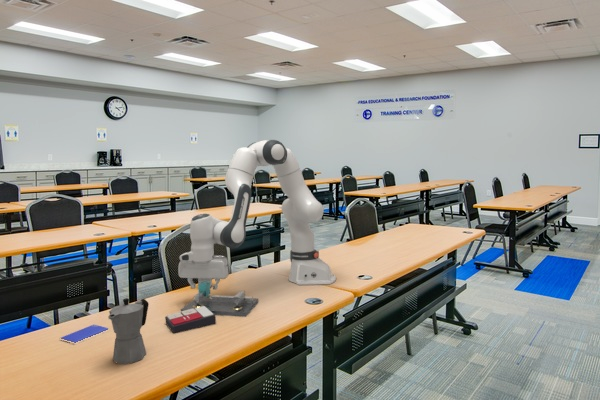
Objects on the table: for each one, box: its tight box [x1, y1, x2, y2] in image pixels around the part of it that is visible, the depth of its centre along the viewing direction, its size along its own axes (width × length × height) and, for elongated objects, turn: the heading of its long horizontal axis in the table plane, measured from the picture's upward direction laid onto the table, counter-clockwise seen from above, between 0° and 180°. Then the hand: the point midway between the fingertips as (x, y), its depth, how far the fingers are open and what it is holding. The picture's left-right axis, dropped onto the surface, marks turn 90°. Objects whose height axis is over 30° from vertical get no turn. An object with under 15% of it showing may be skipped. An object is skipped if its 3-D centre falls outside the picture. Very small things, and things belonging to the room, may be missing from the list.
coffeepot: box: [107, 298, 149, 365], centre depth 128 cm, size 15×9×18 cm, turn 159°
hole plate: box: [180, 290, 260, 318], centre depth 169 cm, size 26×16×6 cm, turn 79°
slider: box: [194, 281, 211, 305], centre depth 170 cm, size 3×9×7 cm, turn 169°
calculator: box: [164, 306, 217, 334], centre depth 153 cm, size 11×4×15 cm
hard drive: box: [60, 324, 109, 343], centre depth 145 cm, size 2×8×12 cm
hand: (204, 288), depth 173 cm, fingers open, 8 cm apart
